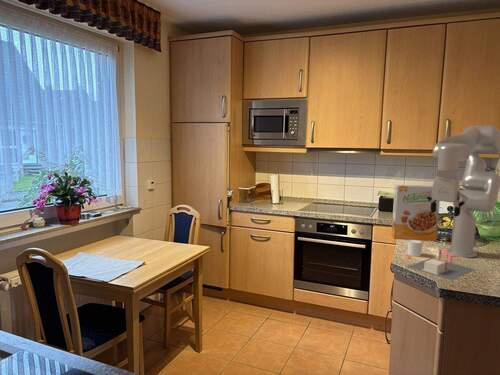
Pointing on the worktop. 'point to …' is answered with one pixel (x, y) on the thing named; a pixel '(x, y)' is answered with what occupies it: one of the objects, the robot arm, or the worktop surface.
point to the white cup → (414, 247)
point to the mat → (449, 273)
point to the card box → (435, 265)
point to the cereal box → (414, 214)
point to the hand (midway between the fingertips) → (444, 214)
